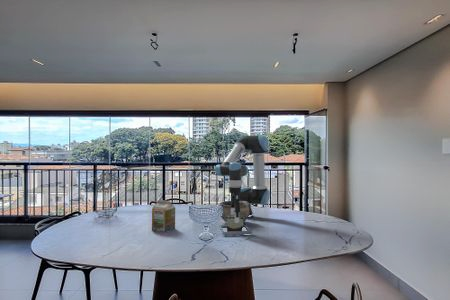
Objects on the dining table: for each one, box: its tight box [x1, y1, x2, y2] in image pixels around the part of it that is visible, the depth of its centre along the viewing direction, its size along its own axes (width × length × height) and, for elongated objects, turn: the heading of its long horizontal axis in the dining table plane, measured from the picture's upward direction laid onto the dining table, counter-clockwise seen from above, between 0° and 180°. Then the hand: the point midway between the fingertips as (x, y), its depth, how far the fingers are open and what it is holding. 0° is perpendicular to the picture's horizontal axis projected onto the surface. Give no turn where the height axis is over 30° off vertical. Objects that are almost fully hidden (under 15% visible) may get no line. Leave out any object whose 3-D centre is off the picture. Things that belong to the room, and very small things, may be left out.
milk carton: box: [151, 199, 176, 234], centre depth 190 cm, size 11×11×19 cm
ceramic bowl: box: [218, 200, 249, 223], centre depth 210 cm, size 22×22×15 cm
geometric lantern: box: [92, 171, 121, 219], centre depth 230 cm, size 16×16×35 cm
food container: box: [225, 214, 244, 232], centre depth 186 cm, size 12×6×10 cm, turn 86°
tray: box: [218, 224, 253, 236], centre depth 185 cm, size 18×18×2 cm
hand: (234, 220), depth 186 cm, fingers open, 13 cm apart
